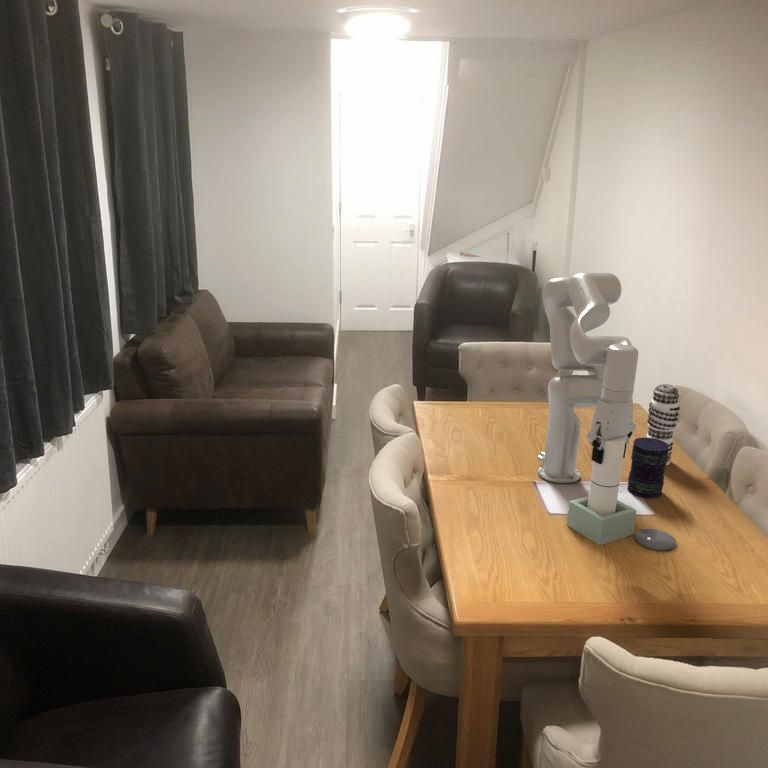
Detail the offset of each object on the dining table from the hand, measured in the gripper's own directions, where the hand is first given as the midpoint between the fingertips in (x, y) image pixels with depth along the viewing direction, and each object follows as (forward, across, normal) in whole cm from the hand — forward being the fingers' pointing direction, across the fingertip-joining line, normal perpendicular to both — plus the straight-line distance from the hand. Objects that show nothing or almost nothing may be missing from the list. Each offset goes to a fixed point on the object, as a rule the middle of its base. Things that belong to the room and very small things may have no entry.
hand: (608, 458), depth 200 cm
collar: (+20, 0, +1) cm, 20 cm away
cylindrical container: (+19, 0, 0) cm, 19 cm away
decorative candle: (+21, -50, -24) cm, 59 cm away
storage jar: (+21, -29, -10) cm, 37 cm away
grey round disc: (+20, -8, +12) cm, 25 cm away
